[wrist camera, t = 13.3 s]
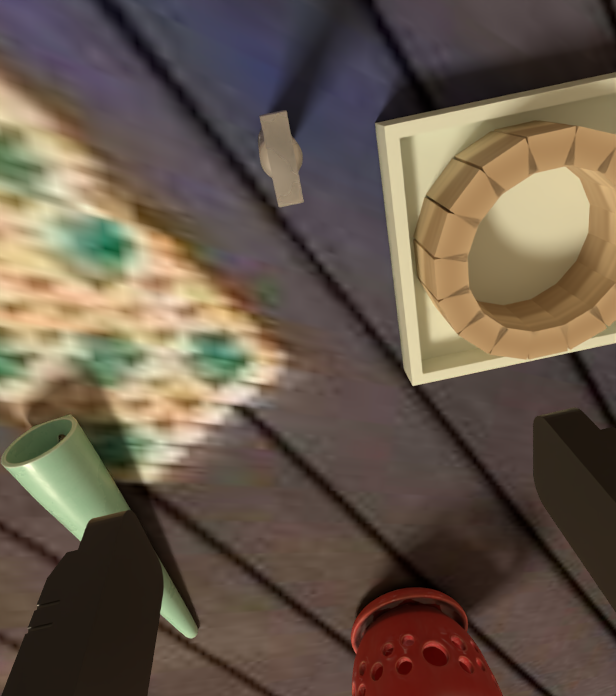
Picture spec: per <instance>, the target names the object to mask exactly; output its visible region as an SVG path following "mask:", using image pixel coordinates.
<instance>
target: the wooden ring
mask: <svg viewBox="0 0 616 696" xmlns="http://www.w3.org/2000/svg"><path fill="white" fill-rule="evenodd" d="M454 157H455V159H456V160H454V159H451V160H450V162H449V163H448V165H447V166H446V167H445V169H444V170H443V171H442V173H441V174H440V176H439V177H438V178H437V180H436V181H435V183H434V184H433V185H432V187H431V188H430V189H429V191H428V192H427V194H426V195H427V196H429V197H430V198H426V197H424V201H423V204H422V208H421V211H420V215H419V218H418V222H417V225H416V229H415V232H414V236H413V237H414V238H415V239H413V244H414V253H415V263H416V272H417V276H418V279H419V281H420V283H421V284H422V286H423V288H424V289H425V291H426V293H427V294H428V296H429V298H430V299H431V301H432V303H433V304H434V306H435V307H436V308H437V310H438V311H439V312H440V313H441V315H442V316H443V317H444V318H445V320H446V321H447V322H448V323H449V324H450V326H451V327H452V328H453V329H454V331H455V332H456V333H457V334H458V335H459V336H461V337H462V338H464V339H465V340H467V341H468V342H470V343H472V344H473V345H475V346H476V347H478V348H479V349H481V350H483V351H484V352H486V353H487V354H488V353H489V354H490V355H496V356H504V357H511V358H518V359H525V360H526V359H527V358H528V359H534V358H538V357H543V356H547V355H552V354H556V353H561V352H565V351H568V348H569V349H570V350H571V349H573V348H574V347H576V346H578V345H580V344H581V343H583V342H585V341H586V340H588V339H590V338H592V337H593V336H595V335H597V334H598V333H600V332H602V331H604V330H605V329H607V328H606V325H607V326H610V325H611V324H612V323H613V322H614V321H615V320H616V134H611V133H607V132H602V131H598V130H594V129H589V128H585V127H581V126H574V125H567V124H560V123H554V122H547V121H540V120H538V121H537V120H535V121H531V122H526V123H522V124H517V125H513V126H508V127H504V128H499V129H495V130H494V131H491V132H489V133H488V134H486V135H485V136H483V137H482V138H480V139H479V140H477V141H476V142H474V143H473V144H471V145H470V146H469V147H467V148H466V149H464V150H463V151H461V152H460V153H458V154H457V155H455V156H454ZM560 167H566V168H568V169H569V170H570V171H571V172H572V173H574V174H575V175H576V176H577V177H578V178H579V179H580V181H581V183H582V186H583V188H584V191H585V194H586V196H587V199H588V201H589V204H590V208H589V228H588V235H587V237H586V239H585V242H584V244H583V246H582V249H581V251H580V253H579V256H578V258H577V260H576V262H575V263H574V264H573V265H572V266H571V267H570V269H569V270H568V271H567V272H566V273H565V274H564V275H563V277H562V278H561V279H560V280H559V281H558V282H557V283H556V284H555V285H553V286H552V287H550V288H548V289H547V290H545V291H544V292H542V293H540V294H539V295H537V296H535V297H534V298H532V299H530V300H525V301H521V302H516V303H512V304H507V305H499V304H492V303H486V302H480V301H477V300H476V299H475V298H474V296H473V294H472V292H471V290H470V289H469V275H468V258H467V257H468V254H469V251H470V248H471V245H472V242H473V240H474V237H475V234H476V231H477V228H478V225H479V223H480V222H481V221H482V219H483V218H484V217H485V215H486V214H487V213H488V212H489V210H490V209H491V208H492V207H493V205H494V204H495V203H496V201H497V200H498V199H499V198H500V196H501V195H502V194H503V193H505V192H506V191H508V190H509V189H511V188H513V187H514V186H516V185H517V184H519V183H520V182H522V181H523V180H525V179H526V178H528V177H529V176H531V175H532V174H534V173H538V172H543V171H547V170H552V169H556V168H560ZM605 324H606V325H605Z"/></svg>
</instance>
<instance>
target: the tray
mask: <svg viewBox="0 0 616 696" xmlns="http://www.w3.org/2000/svg"><path fill="white" fill-rule="evenodd" d="M535 120H537V121H538V120H540V121H547V122H554V123H560V124H567V125H574V126H581V127H585V128H589V129H594V130H598V131H602V132H607V133H611V134H616V72H614V73H609V74H604V75H600V76H595V77H590V78H585V79H581V80H576V81H571V82H567V83H562V84H557V85H552V86H548V87H543V88H538V89H533V90H529V91H524V92H519V93H515V94H510V95H505V96H500V97H496V98H491V99H486V100H481V101H477V102H472V103H467V104H462V105H458V106H453V107H448V108H444V109H439V110H434V111H429V112H425V113H420V114H415V115H410V116H406V117H401V118H396V119H392V120H387V121H382V122H377V123H375V128H376V136H377V145H378V153H379V162H380V170H381V179H382V187H383V196H384V204H385V213H386V221H387V230H388V239H389V247H390V256H391V264H392V273H393V281H394V290H395V298H396V307H397V315H398V324H399V332H400V341H401V349H402V358H403V367H404V370H405V372H406V374H407V376H408V378H409V380H410V382H411V384H412V385H413V386H415V385H419V384H424V383H429V382H434V381H438V380H443V379H448V378H452V377H457V376H462V375H466V374H471V373H476V372H481V371H485V370H490V369H495V368H499V367H504V366H509V365H514V364H518V363H523V362H528V361H532V360H537V359H542V358H547V357H551V356H556V355H561V354H565V353H570V352H575V351H580V350H584V349H589V348H594V347H598V346H603V345H608V344H612V343H616V320H615V321H614V322H613V323H612V324H611V325H610V326H607V325H606V324H605V325H606V328H607V329H605V330H604V331H602V332H600V333H598V334H597V335H595V336H593V337H592V338H590V339H588V340H586V341H585V342H583V343H581V344H580V345H578V346H576V347H574V348H573V349H571V350H570V349H569V348H568V351H565V352H561V353H556V354H552V355H547V356H543V357H538V358H534V359H528V358H527V359H526V360H525V359H518V358H511V357H504V356H496V355H490V354H489V353H488V354H487V353H486V352H484V351H483V350H481V349H479V348H478V347H476V346H475V345H473V344H472V343H470V342H468V341H467V340H465V339H464V338H462V337H461V336H459V335H458V334H457V333H456V332H455V331H454V329H453V328H452V327H451V326H450V324H449V323H448V322H447V321H446V320H445V318H444V317H443V316H442V315H441V313H440V312H439V311H438V310H437V308H436V307H435V306H434V304H433V303H432V301H431V299H430V298H429V296H428V294H427V293H426V291H425V289H424V288H423V286H422V284H421V283H420V281H419V279H418V276H417V272H416V263H415V253H414V244H413V239H415V238H414V237H413V236H414V232H415V229H416V225H417V222H418V218H419V215H420V211H421V208H422V204H423V201H424V197H426V198H430V197H429V196H427V195H426V194H427V192H428V191H429V189H430V188H431V187H432V185H433V184H434V183H435V181H436V180H437V178H438V177H439V176H440V174H441V173H442V171H443V170H444V169H445V167H446V166H447V165H448V163H449V162H450V160H451V159H454V160H456V159H455V157H454V156H455V155H457V154H458V153H460V152H461V151H463V150H464V149H466V148H467V147H469V146H470V145H471V144H473V143H474V142H476V141H477V140H479V139H480V138H482V137H483V136H485V135H486V134H488V133H489V132H491V131H494V130H495V129H499V128H504V127H508V126H513V125H517V124H522V123H526V122H531V121H535ZM589 208H590V204H589V201H588V199H587V196H586V194H585V191H584V188H583V186H582V183H581V181H580V179H579V178H578V177H577V176H576V175H575V174H574V173H572V172H571V171H570V170H569V169H568V168H566V167H560V168H556V169H552V170H547V171H543V172H538V173H534V174H532V175H531V176H529V177H528V178H526V179H525V180H523V181H522V182H520V183H519V184H517V185H516V186H514V187H513V188H511V189H509V190H508V191H506V192H505V193H503V194H502V195H501V196H500V198H499V199H498V200H497V201H496V203H495V204H494V205H493V207H492V208H491V209H490V210H489V212H488V213H487V214H486V215H485V217H484V218H483V219H482V221H481V222H480V223H479V225H478V228H477V231H476V234H475V237H474V240H473V242H472V245H471V248H470V251H469V254H468V257H467V258H468V275H469V289H470V290H471V292H472V294H473V296H474V298H475V299H476V300H477V301H480V302H486V303H492V304H499V305H507V304H512V303H516V302H521V301H525V300H530V299H532V298H534V297H535V296H537V295H539V294H540V293H542V292H544V291H545V290H547V289H548V288H550V287H552V286H553V285H555V284H556V283H557V282H558V281H559V280H560V279H561V278H562V277H563V275H564V274H565V273H566V272H567V271H568V270H569V269H570V267H571V266H572V265H573V264H574V263H575V262H576V260H577V258H578V256H579V253H580V251H581V249H582V246H583V244H584V242H585V239H586V237H587V235H588V228H589Z"/></svg>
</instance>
